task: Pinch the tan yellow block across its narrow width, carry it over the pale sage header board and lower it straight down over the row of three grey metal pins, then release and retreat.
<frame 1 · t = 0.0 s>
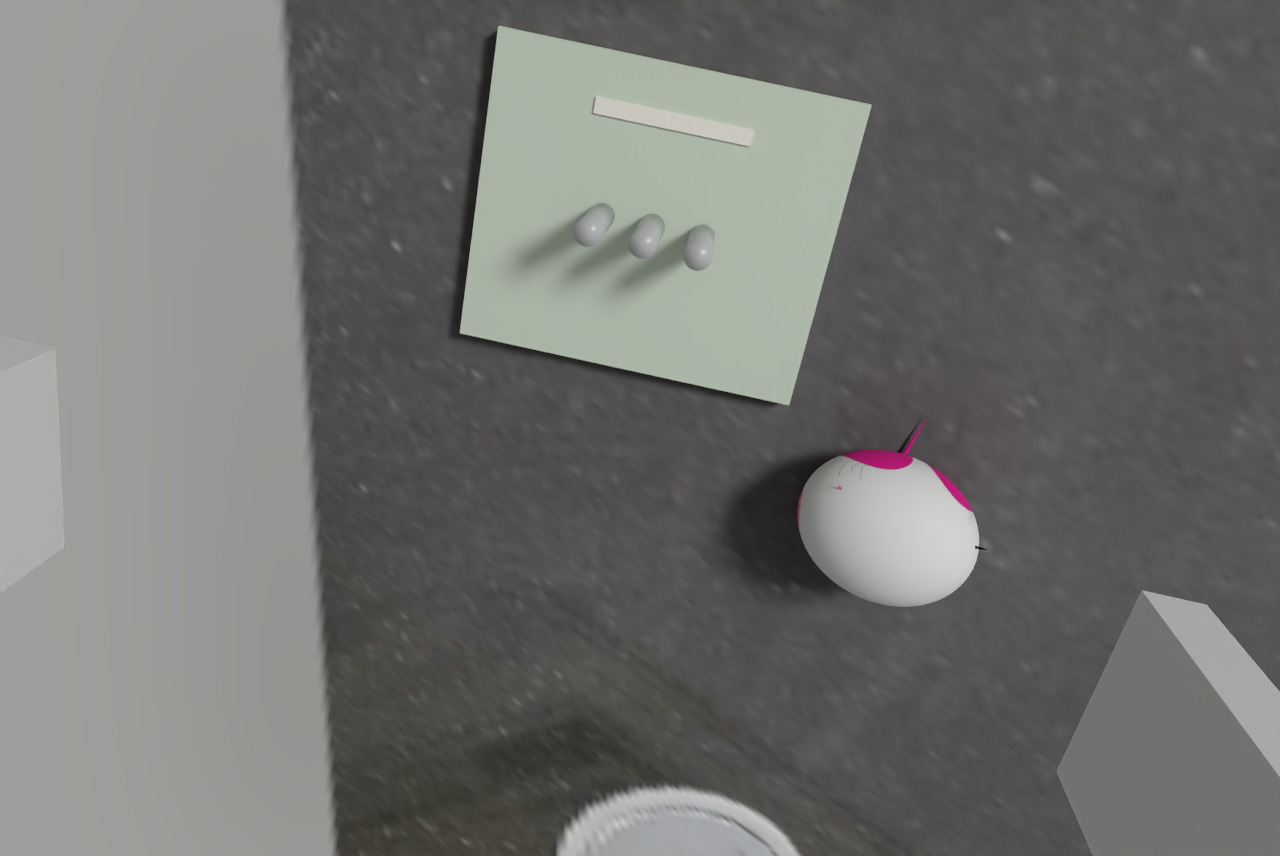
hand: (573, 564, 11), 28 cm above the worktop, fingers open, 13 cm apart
header board: (653, 223, 38), on the worktop
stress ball: (884, 483, 41), on the worktop
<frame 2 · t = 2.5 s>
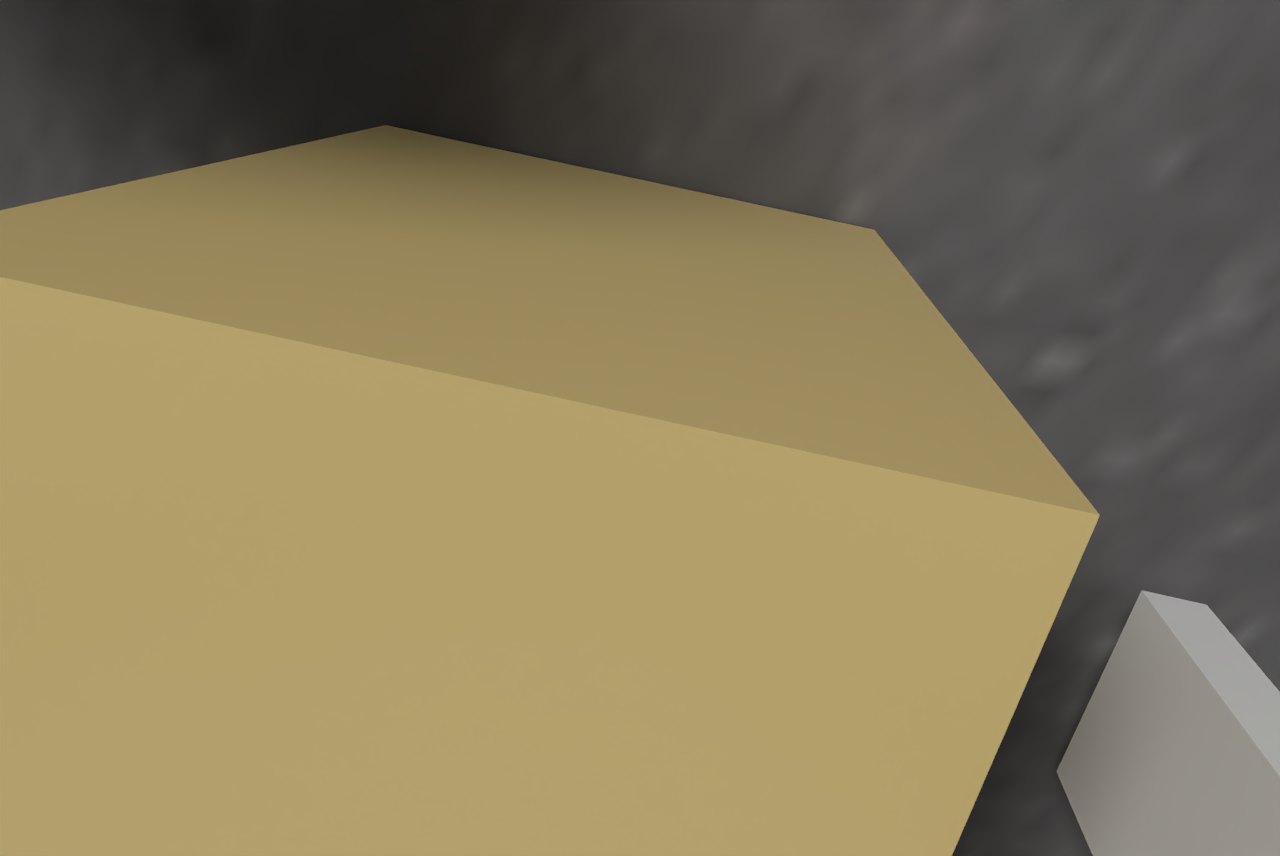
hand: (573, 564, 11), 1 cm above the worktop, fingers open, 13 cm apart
tan yellow block: (564, 524, 12), on the worktop
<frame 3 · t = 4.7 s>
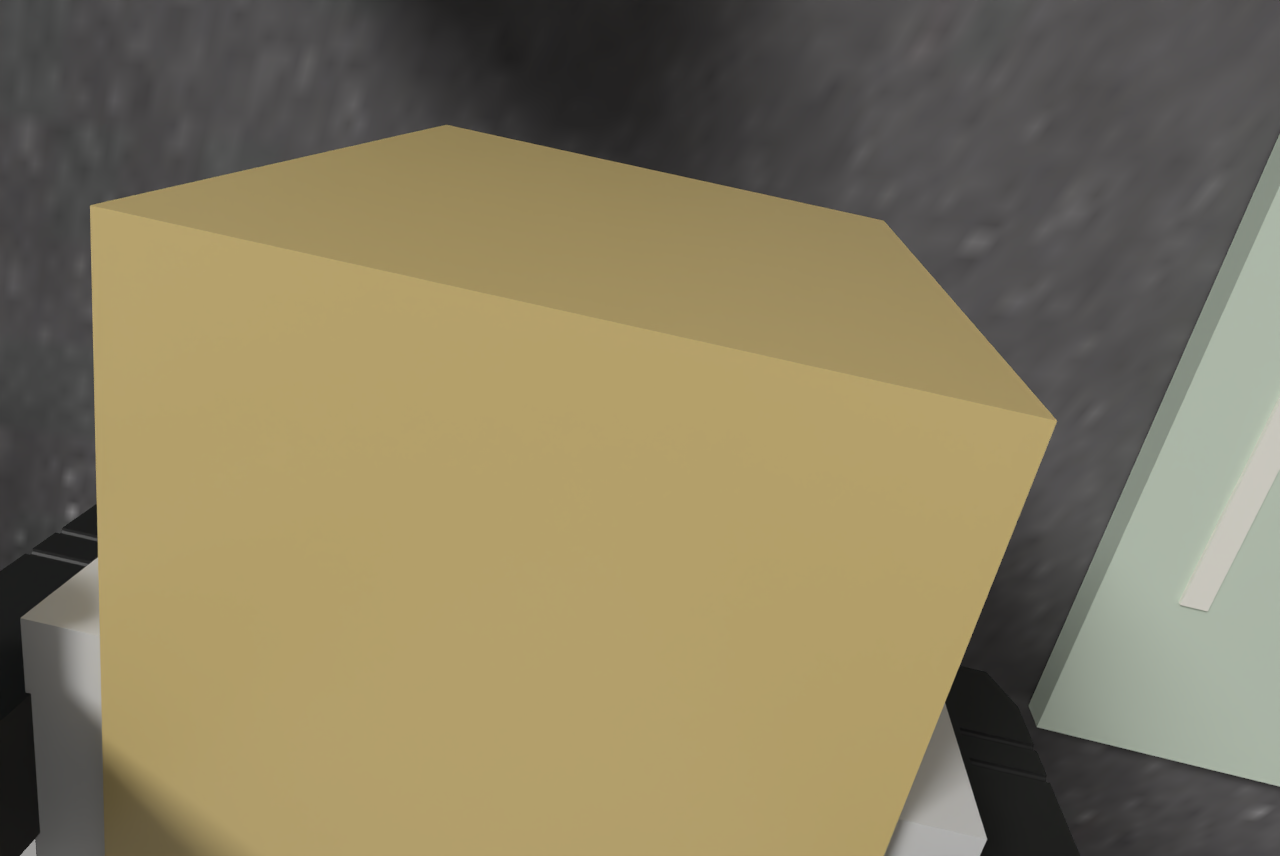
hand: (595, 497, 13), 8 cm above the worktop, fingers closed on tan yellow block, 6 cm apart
tan yellow block: (599, 489, 14), point 8 cm above the worktop, touching gripper
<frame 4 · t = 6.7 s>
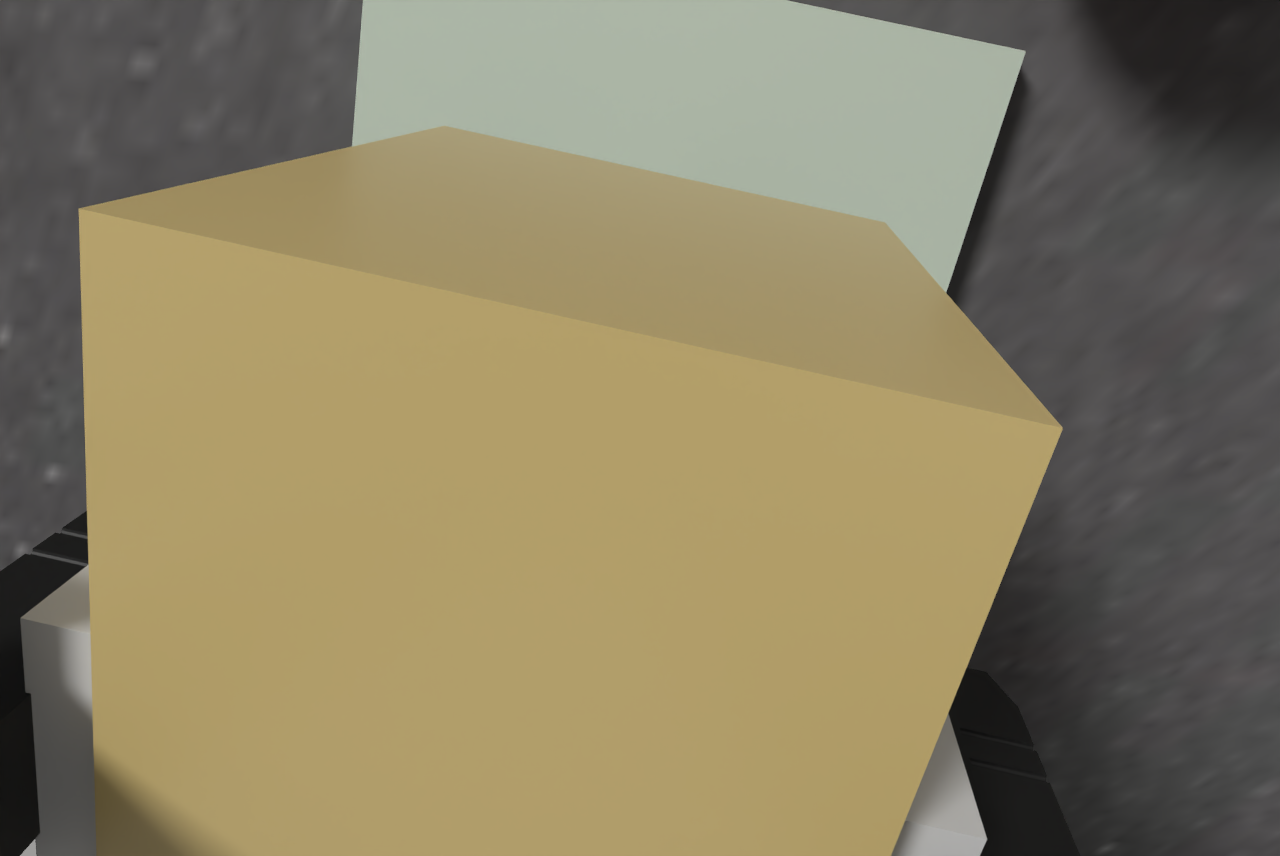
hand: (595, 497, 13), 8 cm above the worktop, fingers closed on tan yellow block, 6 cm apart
tan yellow block: (598, 493, 13), point 7 cm above the worktop, touching gripper
header board: (627, 336, 20), on the worktop
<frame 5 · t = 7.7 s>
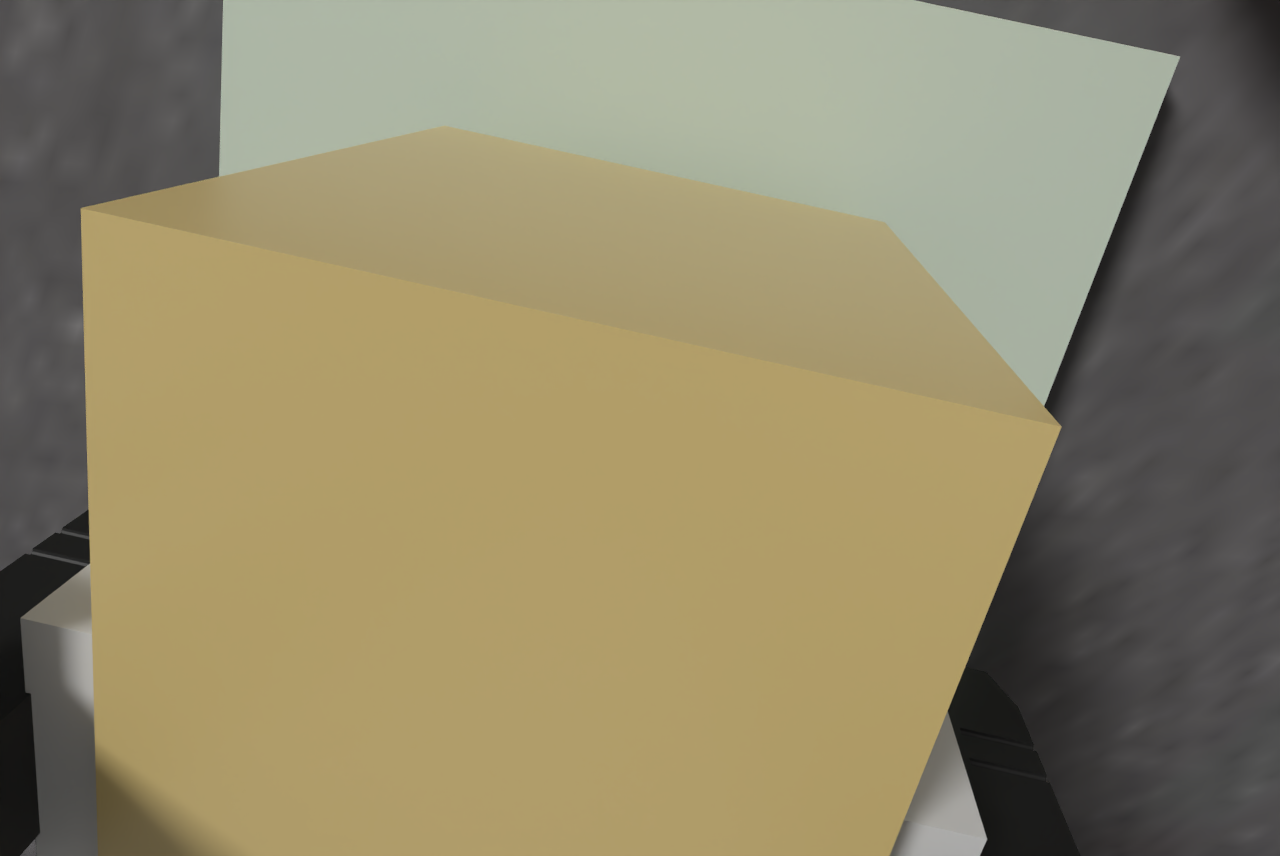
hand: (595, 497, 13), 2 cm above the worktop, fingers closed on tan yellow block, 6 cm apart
tan yellow block: (598, 492, 13), point 2 cm above the worktop, touching gripper
header board: (606, 441, 15), on the worktop
when the fingers open (1 cm above the worktop, at t = 8.8 s): tan yellow block stays where it is, resting on header board.
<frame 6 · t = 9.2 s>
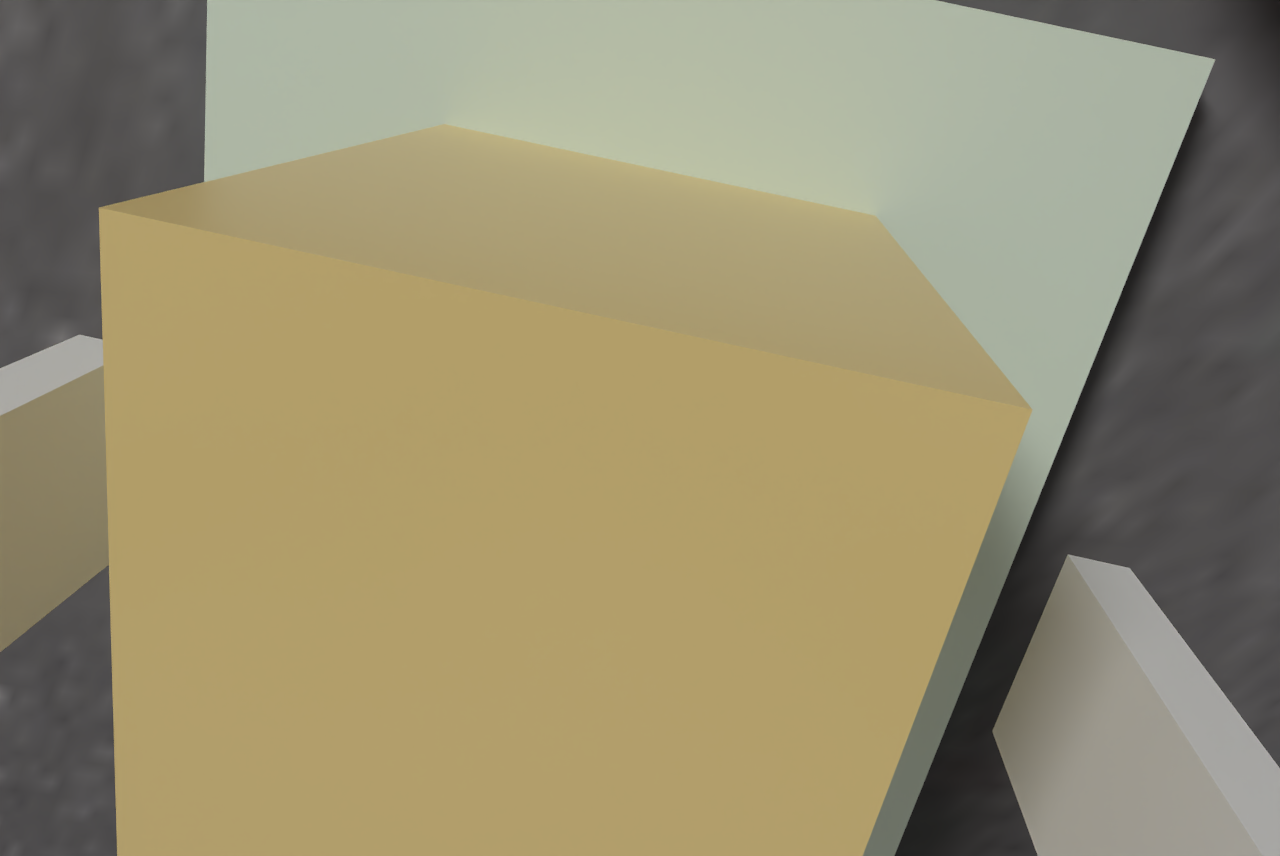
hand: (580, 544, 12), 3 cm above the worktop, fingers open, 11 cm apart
tan yellow block: (597, 482, 14), point 1 cm above the worktop, touching header board
header board: (608, 459, 14), on the worktop
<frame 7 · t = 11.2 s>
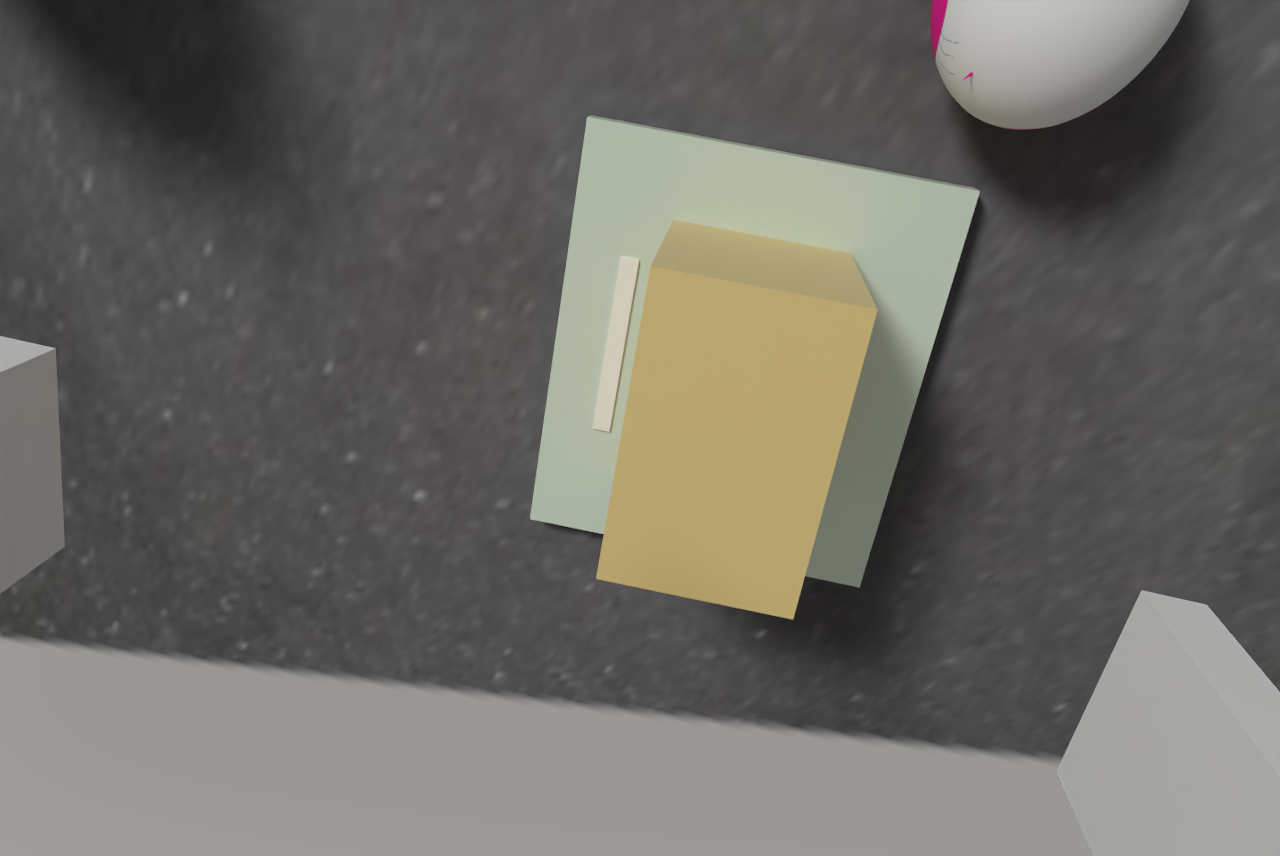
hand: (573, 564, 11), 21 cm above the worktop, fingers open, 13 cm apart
tan yellow block: (732, 370, 31), point 1 cm above the worktop, touching header board
header board: (734, 363, 32), on the worktop
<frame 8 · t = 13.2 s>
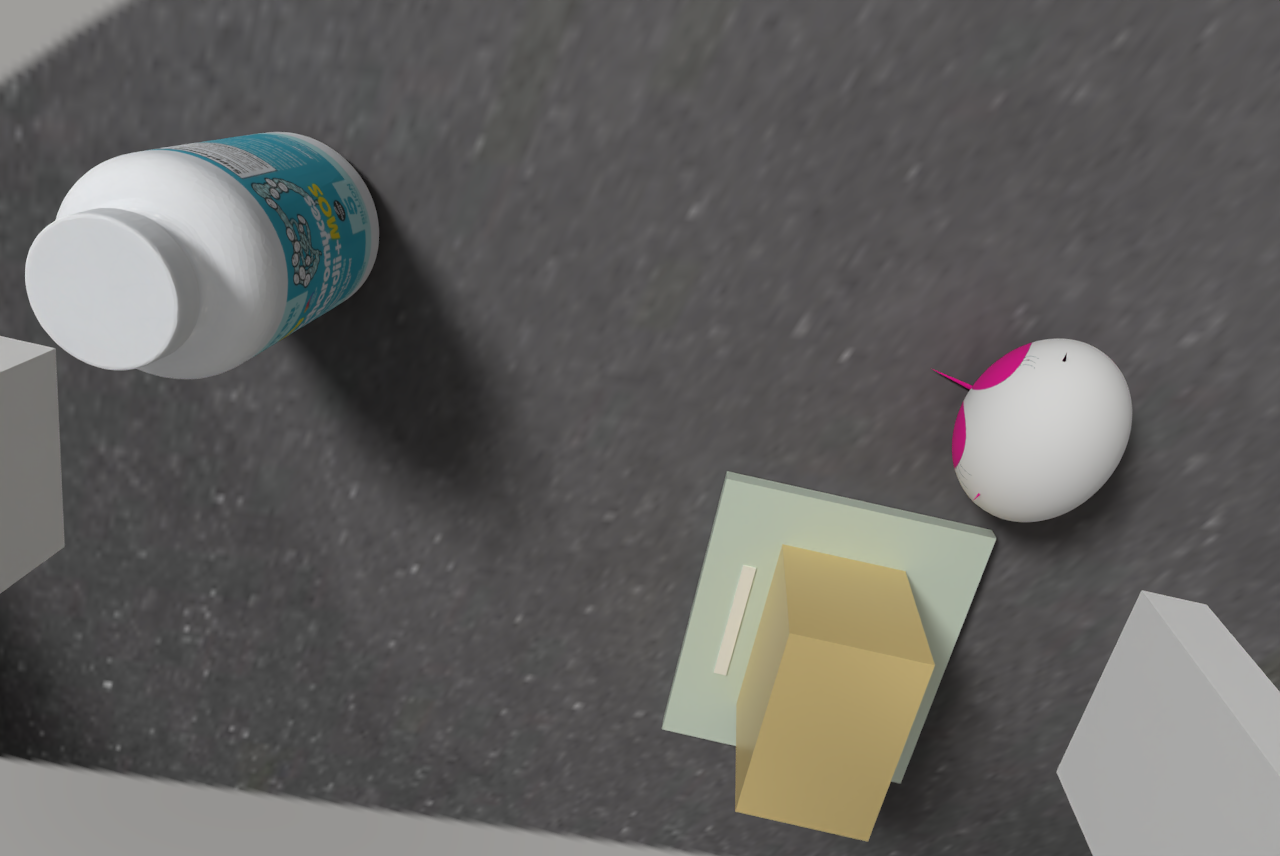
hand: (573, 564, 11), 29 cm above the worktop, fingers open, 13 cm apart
pill bottle: (302, 219, 40), on the worktop
tan yellow block: (817, 640, 44), point 1 cm above the worktop, touching header board
header board: (817, 630, 45), on the worktop
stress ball: (1004, 398, 40), on the worktop
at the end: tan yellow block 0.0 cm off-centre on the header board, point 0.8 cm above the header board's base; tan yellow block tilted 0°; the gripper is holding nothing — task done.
